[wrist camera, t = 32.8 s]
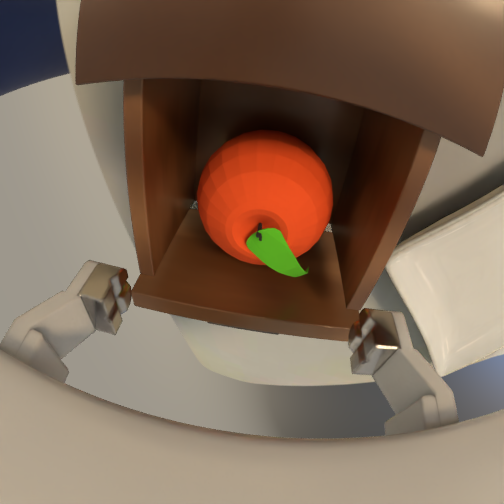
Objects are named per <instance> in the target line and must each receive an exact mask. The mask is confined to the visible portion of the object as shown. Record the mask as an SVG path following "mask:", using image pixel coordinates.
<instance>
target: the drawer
mask: <svg viewBox="0 0 504 504" xmlns="http://www.w3.org/2000/svg"><path fill="white" fill-rule="evenodd" d="M123 116H124V144H125V161H126V174H127V185H128V195H129V204H130V212H131V220H132V227H133V234H134V240H135V247H136V253H137V258H138V263H139V269H140V273H141V274H140V276H139V278H138V279H137V281H136V283H135V285H134V287H133V289H132V298H133V301H134V305H135V306H138V307H142V308H147V309H151V310H155V311H159V312H164V313H168V314H173V315H177V316H182V317H187V318H191V319H196V320H201V321H206V322H208V323H210V324H216V325H221V326H226V327H232V328H238V329H244V330H250V331H256V332H263V333H270V334H276V335H278V334H286V335H293V336H301V337H309V338H318V339H327V340H337V341H348V335H349V332H350V328H351V326H352V325H353V323H354V322H356V321H358V320H359V310H361V308H362V306H363V305H364V303H365V301H366V300H367V298H368V296H369V295H370V293H371V291H372V289H373V288H374V286H375V284H376V282H377V281H378V279H379V277H380V275H381V273H382V272H383V270H384V268H385V266H386V264H387V262H388V260H389V258H390V257H391V255H392V253H393V251H394V249H395V247H396V245H397V243H398V241H399V239H400V237H401V235H402V232H403V230H404V228H405V226H406V224H407V222H408V220H409V218H410V215H411V213H412V211H413V209H414V206H415V204H416V202H417V199H418V197H419V195H420V192H421V190H422V188H423V185H424V183H425V180H426V178H427V175H428V172H429V170H430V167H431V165H432V162H433V159H434V156H435V154H436V151H437V148H438V145H439V142H440V139H441V136H438V135H436V134H434V133H431V132H429V131H427V130H424V129H422V128H419V127H417V126H414V125H412V124H409V123H407V122H404V121H401V120H399V119H396V118H393V117H390V116H387V115H384V114H381V113H378V112H375V111H372V110H369V109H366V108H362V107H359V106H356V105H352V104H349V103H345V102H341V101H337V100H333V99H329V98H325V97H321V96H317V95H312V94H308V93H303V92H298V91H292V90H287V89H281V88H275V87H269V86H262V85H255V84H247V83H238V82H228V81H216V80H199V79H136V80H124V87H123ZM257 130H273V131H280V132H283V133H286V134H289V135H292V136H295V137H297V138H298V139H300V140H301V141H303V142H304V143H305V144H307V145H308V146H310V147H311V148H312V150H313V151H314V152H315V153H316V154H317V156H318V157H319V158H320V159H321V160H322V162H323V163H324V164H325V166H326V169H327V171H328V173H329V176H330V178H331V181H332V191H333V208H332V213H331V217H330V221H329V223H330V224H331V228H332V232H327V231H324V232H323V234H322V235H321V237H320V238H319V240H318V241H317V242H316V243H315V244H314V245H313V246H312V247H311V248H310V249H309V250H308V251H307V252H305V253H303V254H302V255H300V256H298V257H297V258H296V259H297V261H298V263H299V265H300V266H301V267H302V269H303V270H304V271H306V269H307V268H308V267H309V269H308V273H307V274H304V275H302V276H298V277H291V276H287V275H284V274H281V273H279V272H277V271H275V270H273V269H272V268H270V267H269V266H267V265H257V264H250V263H247V262H244V261H240V260H238V259H236V258H235V257H233V256H231V255H229V254H228V253H226V252H225V251H224V250H223V249H221V248H220V247H219V246H218V245H217V244H216V243H214V242H213V240H212V239H211V237H210V236H209V235H208V233H207V232H206V231H205V228H204V226H203V223H202V220H201V218H200V214H199V211H198V209H191V208H190V207H191V205H192V204H193V202H194V200H195V201H197V190H198V185H199V181H200V177H201V174H202V171H203V169H204V167H205V165H206V163H207V162H208V160H209V158H210V157H211V155H212V154H213V153H214V152H215V151H217V150H218V149H219V148H220V147H221V146H222V145H223V144H224V143H226V142H227V141H229V140H231V139H233V138H235V137H237V136H239V135H241V134H243V133H246V132H251V131H257Z"/></svg>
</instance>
